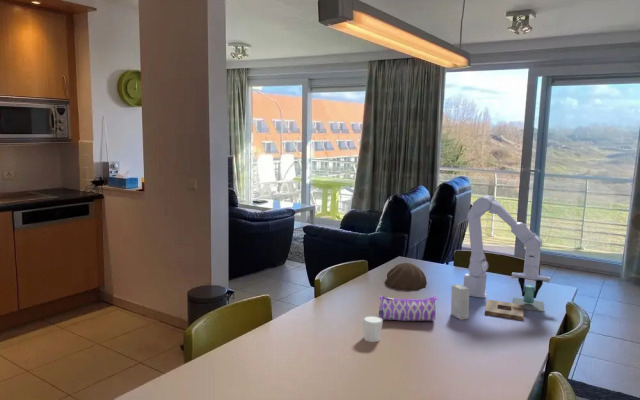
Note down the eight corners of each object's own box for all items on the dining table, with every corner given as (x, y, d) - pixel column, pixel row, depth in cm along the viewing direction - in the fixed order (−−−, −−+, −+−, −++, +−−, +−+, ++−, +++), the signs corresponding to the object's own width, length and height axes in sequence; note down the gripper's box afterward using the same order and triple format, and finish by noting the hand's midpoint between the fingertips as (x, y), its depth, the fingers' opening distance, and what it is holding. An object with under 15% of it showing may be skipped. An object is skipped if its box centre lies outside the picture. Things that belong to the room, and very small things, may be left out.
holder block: (484, 314, 186) (484, 310, 186) (487, 302, 199) (487, 299, 199) (523, 320, 181) (523, 316, 181) (522, 308, 194) (523, 304, 193)
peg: (523, 302, 196) (524, 287, 195) (523, 299, 200) (524, 284, 199) (533, 304, 195) (535, 288, 194) (533, 300, 198) (535, 286, 197)
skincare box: (468, 318, 181) (471, 288, 179) (459, 320, 180) (461, 289, 178) (459, 313, 187) (461, 283, 185) (449, 314, 185) (451, 284, 184)
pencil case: (378, 323, 175) (379, 299, 174) (376, 313, 185) (377, 290, 183) (438, 325, 175) (439, 300, 174) (432, 315, 184) (434, 292, 183)
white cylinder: (369, 344, 157) (369, 324, 156) (358, 336, 163) (358, 317, 162) (386, 340, 160) (386, 321, 159) (374, 332, 166) (375, 314, 166)
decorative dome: (383, 276, 233) (384, 256, 232) (423, 278, 232) (425, 258, 230) (386, 289, 214) (387, 268, 212) (430, 291, 213) (431, 269, 211)
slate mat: (512, 307, 194) (512, 306, 194) (512, 298, 205) (513, 297, 205) (544, 312, 190) (544, 311, 190) (543, 302, 201) (543, 301, 201)
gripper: (512, 265, 194) (510, 296, 196) (551, 269, 189) (548, 302, 190) (512, 261, 201) (510, 291, 202) (550, 265, 195) (547, 296, 197)
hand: (528, 296), depth 197 cm, fingers closed on peg, 4 cm apart
